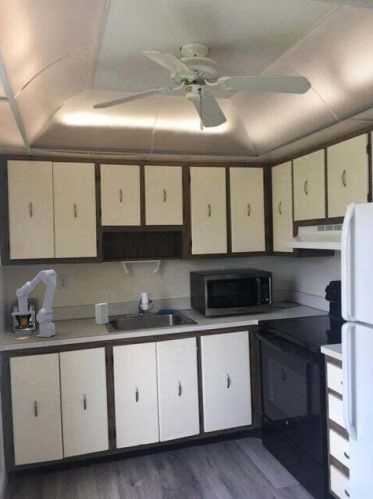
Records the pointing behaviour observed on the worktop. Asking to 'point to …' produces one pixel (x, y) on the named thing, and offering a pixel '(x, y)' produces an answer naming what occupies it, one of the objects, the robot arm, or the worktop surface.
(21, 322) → the walnut cylinder
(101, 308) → the skincare box
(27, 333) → the low wall
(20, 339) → the coaster
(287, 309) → the worktop surface
